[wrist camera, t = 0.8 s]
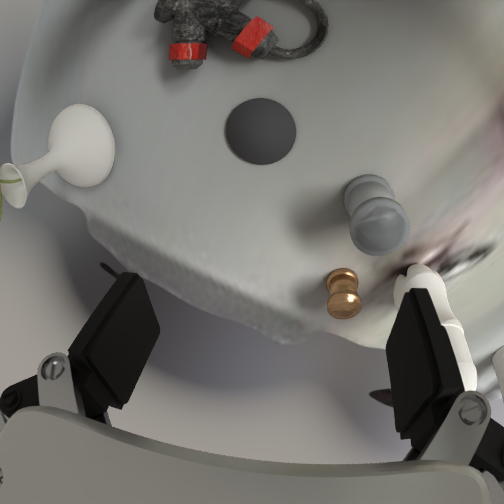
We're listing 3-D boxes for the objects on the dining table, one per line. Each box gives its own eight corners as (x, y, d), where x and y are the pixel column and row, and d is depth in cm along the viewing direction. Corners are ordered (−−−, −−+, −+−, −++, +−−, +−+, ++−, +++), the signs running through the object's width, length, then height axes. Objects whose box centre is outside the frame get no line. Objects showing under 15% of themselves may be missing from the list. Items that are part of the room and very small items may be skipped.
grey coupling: (379, 165, 29) (395, 190, 24) (400, 207, 31) (417, 240, 26) (334, 189, 32) (339, 219, 26) (357, 229, 34) (365, 264, 28)
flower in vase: (121, 188, 36) (-15, 324, 16) (60, 175, 37) (-67, 279, 16) (126, 90, 29) (-72, 175, 8) (59, 88, 29) (-105, 162, 9)
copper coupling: (349, 263, 37) (353, 289, 33) (362, 285, 39) (366, 311, 34) (321, 276, 39) (321, 302, 35) (335, 296, 40) (336, 323, 36)
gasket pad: (269, 85, 27) (268, 85, 26) (309, 141, 29) (309, 142, 29) (214, 123, 30) (213, 124, 30) (253, 175, 33) (253, 176, 32)
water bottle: (427, 300, 38) (465, 464, 18) (383, 297, 39) (406, 474, 19) (444, 260, 34) (508, 435, 14) (398, 255, 35) (446, 449, 15)
